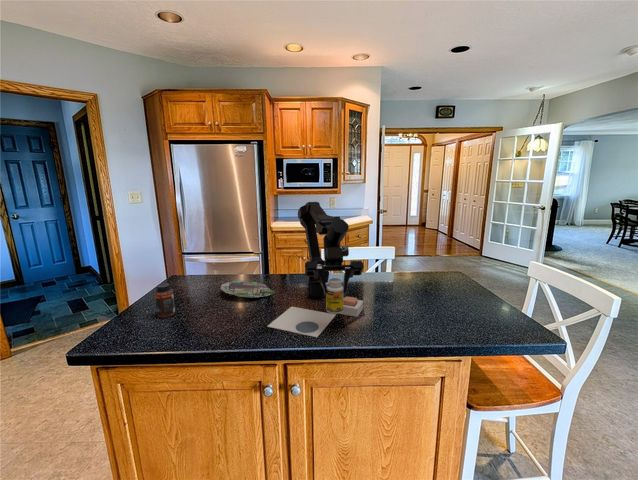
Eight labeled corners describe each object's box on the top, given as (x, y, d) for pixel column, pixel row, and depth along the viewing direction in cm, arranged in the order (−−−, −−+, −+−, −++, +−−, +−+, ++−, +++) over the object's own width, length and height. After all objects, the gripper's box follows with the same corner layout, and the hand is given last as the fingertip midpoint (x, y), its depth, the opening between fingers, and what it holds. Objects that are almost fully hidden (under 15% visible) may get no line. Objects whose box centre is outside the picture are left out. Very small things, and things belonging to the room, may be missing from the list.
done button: (342, 306, 110) (342, 300, 110) (346, 302, 114) (346, 296, 114) (353, 308, 109) (353, 302, 108) (357, 304, 112) (357, 298, 112)
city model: (286, 300, 127) (287, 286, 126) (231, 307, 114) (232, 291, 113) (261, 285, 147) (262, 272, 147) (212, 289, 134) (213, 275, 133)
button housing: (336, 313, 110) (336, 305, 109) (343, 304, 117) (343, 297, 116) (357, 316, 107) (357, 309, 106) (363, 308, 114) (363, 300, 113)
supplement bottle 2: (323, 313, 94) (323, 282, 92) (328, 306, 100) (328, 276, 97) (341, 315, 93) (341, 284, 91) (345, 308, 98) (345, 278, 96)
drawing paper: (267, 326, 100) (267, 325, 100) (291, 307, 115) (291, 306, 115) (317, 337, 93) (317, 336, 93) (335, 315, 108) (335, 314, 108)
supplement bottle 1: (179, 312, 110) (176, 283, 108) (166, 319, 105) (162, 288, 103) (166, 310, 112) (163, 281, 110) (153, 317, 107) (149, 286, 105)
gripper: (304, 236, 95) (305, 282, 86) (363, 236, 96) (369, 281, 87) (304, 254, 104) (305, 297, 96) (358, 254, 105) (363, 296, 97)
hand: (335, 292), depth 93 cm, fingers closed on supplement bottle 2, 6 cm apart
